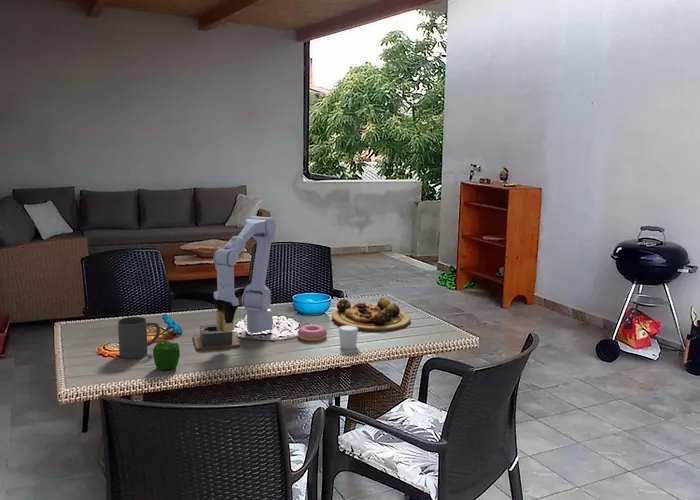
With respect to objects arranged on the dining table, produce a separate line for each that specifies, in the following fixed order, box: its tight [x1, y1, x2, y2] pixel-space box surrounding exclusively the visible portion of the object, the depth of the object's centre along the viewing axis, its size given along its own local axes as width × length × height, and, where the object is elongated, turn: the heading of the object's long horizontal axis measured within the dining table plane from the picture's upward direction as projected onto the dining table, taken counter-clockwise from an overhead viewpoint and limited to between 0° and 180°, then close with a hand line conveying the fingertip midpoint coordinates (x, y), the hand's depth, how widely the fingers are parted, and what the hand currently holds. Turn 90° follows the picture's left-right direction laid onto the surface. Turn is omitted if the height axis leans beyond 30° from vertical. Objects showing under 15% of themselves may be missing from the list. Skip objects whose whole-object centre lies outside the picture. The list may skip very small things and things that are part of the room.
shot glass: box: [338, 325, 359, 350], centre depth 232 cm, size 7×7×7 cm
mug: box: [117, 316, 161, 360], centre depth 219 cm, size 14×9×12 cm
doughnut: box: [297, 323, 328, 342], centre depth 241 cm, size 11×11×4 cm
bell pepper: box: [152, 338, 181, 371], centre depth 207 cm, size 8×8×10 cm
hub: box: [192, 323, 241, 351], centre depth 233 cm, size 15×15×5 cm
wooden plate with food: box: [331, 296, 411, 333], centre depth 265 cm, size 32×32×8 cm
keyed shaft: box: [215, 309, 235, 332], centre depth 225 cm, size 5×4×7 cm
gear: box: [161, 313, 184, 335], centre depth 242 cm, size 11×6×10 cm
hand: (226, 321), depth 226 cm, fingers closed on keyed shaft, 4 cm apart
